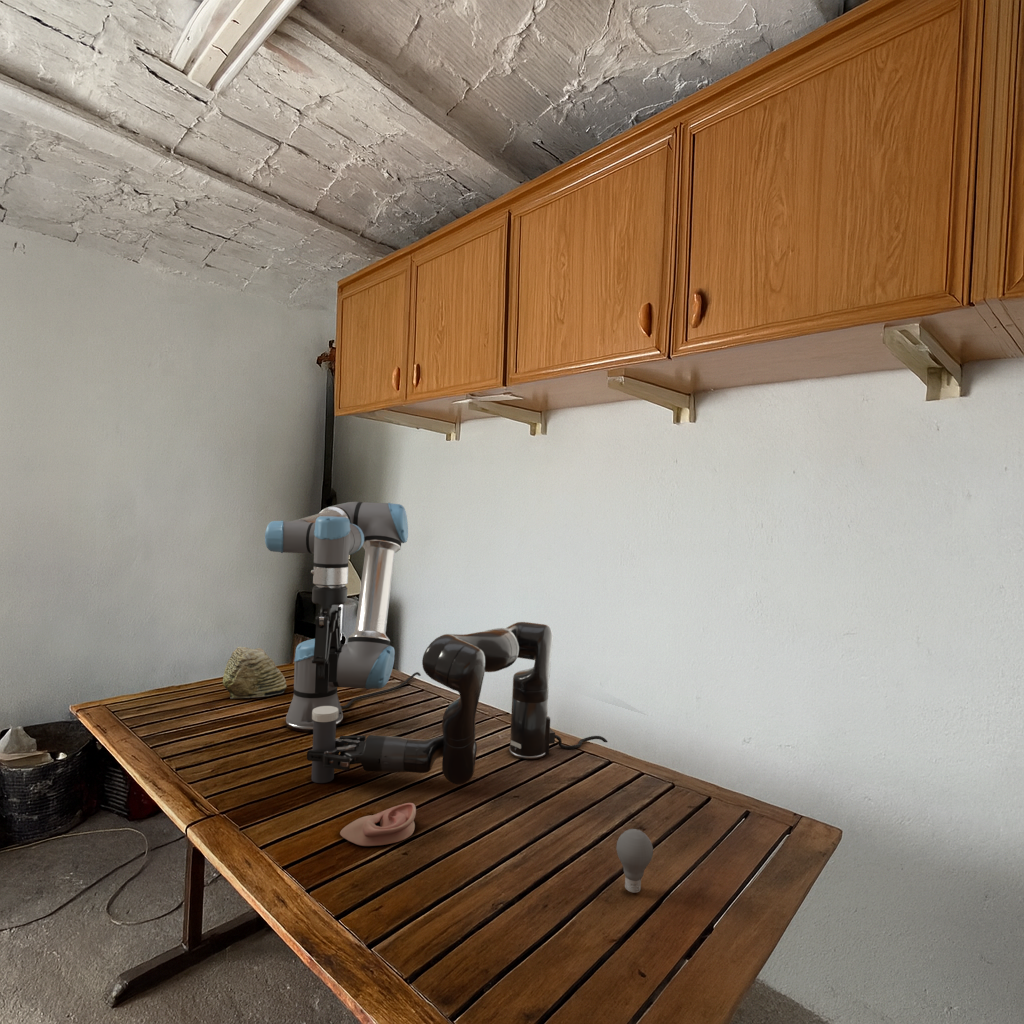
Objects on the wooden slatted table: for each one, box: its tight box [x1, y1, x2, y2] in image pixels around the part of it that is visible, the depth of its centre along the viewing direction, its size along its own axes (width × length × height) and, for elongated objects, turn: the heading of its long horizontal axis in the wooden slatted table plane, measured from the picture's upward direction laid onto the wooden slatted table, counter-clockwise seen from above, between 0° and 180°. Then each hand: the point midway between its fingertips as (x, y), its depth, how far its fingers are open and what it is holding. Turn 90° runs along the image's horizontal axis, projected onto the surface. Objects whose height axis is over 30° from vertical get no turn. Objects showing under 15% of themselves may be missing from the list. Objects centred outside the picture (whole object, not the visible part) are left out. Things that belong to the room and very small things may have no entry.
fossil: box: [222, 646, 288, 699], centre depth 198 cm, size 9×18×15 cm, turn 132°
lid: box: [312, 706, 339, 722], centre depth 142 cm, size 6×6×2 cm
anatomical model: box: [339, 802, 417, 847], centre depth 121 cm, size 13×4×12 cm
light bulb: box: [615, 828, 654, 894], centre depth 106 cm, size 6×6×10 cm
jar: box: [311, 720, 337, 784], centre depth 142 cm, size 5×5×15 cm
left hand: (326, 686), depth 142 cm, fingers open, 8 cm apart
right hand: (312, 749), depth 142 cm, fingers open, 5 cm apart
